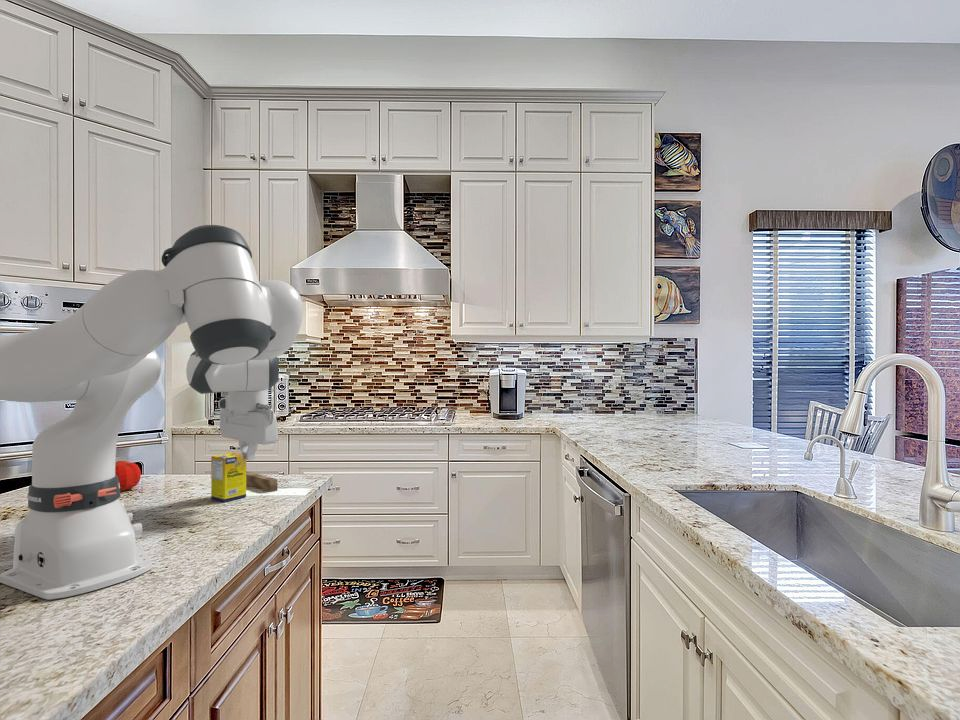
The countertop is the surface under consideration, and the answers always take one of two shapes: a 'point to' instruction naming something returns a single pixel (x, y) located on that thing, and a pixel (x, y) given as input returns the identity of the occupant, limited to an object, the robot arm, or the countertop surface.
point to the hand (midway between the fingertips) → (248, 459)
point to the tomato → (127, 474)
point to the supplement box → (228, 477)
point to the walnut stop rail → (261, 482)
